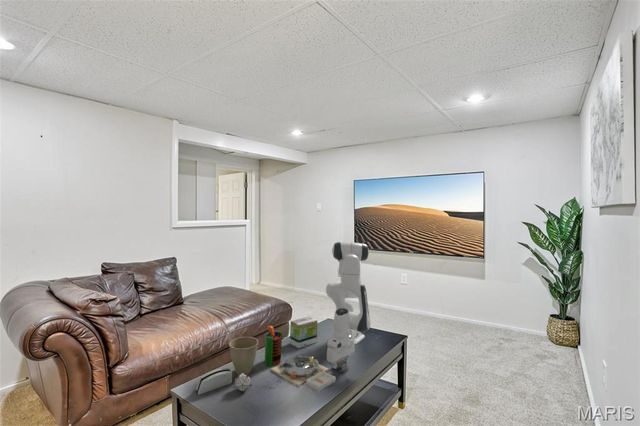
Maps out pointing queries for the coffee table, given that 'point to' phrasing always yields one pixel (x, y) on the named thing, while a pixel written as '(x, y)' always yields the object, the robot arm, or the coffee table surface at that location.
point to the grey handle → (214, 380)
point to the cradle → (321, 381)
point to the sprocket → (300, 366)
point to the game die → (242, 382)
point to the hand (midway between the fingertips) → (341, 364)
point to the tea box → (303, 332)
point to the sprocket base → (297, 380)
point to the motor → (273, 347)
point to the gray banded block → (341, 365)
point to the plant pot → (243, 353)
